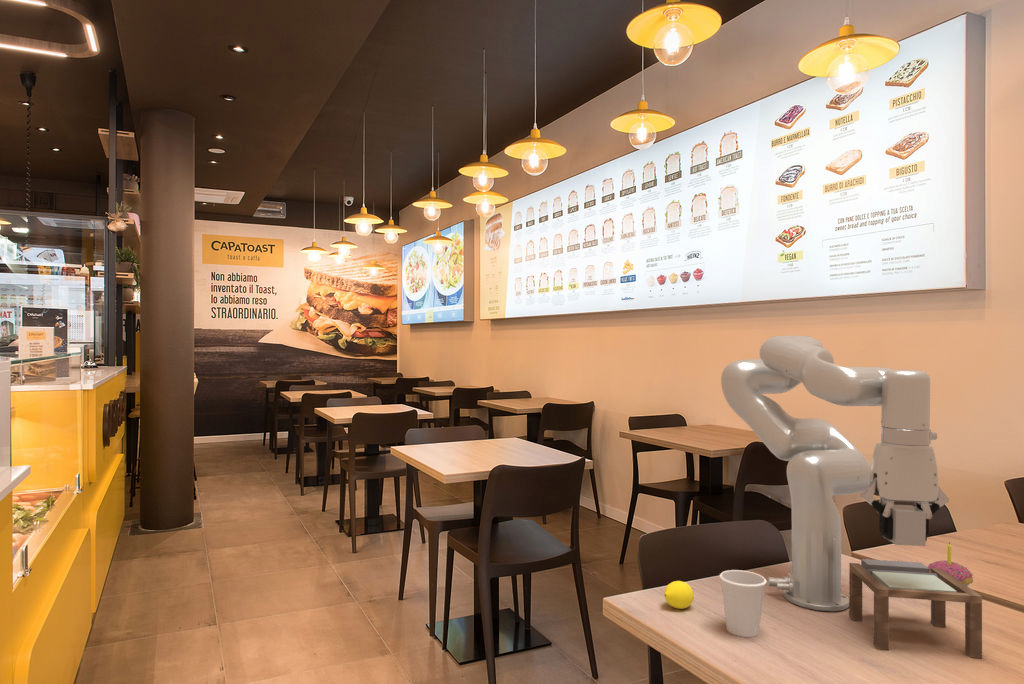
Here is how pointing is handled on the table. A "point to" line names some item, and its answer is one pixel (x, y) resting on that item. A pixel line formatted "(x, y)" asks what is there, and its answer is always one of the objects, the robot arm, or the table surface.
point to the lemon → (679, 594)
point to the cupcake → (953, 569)
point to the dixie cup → (742, 601)
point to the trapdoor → (905, 575)
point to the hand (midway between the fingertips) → (903, 537)
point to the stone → (908, 525)
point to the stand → (937, 598)
